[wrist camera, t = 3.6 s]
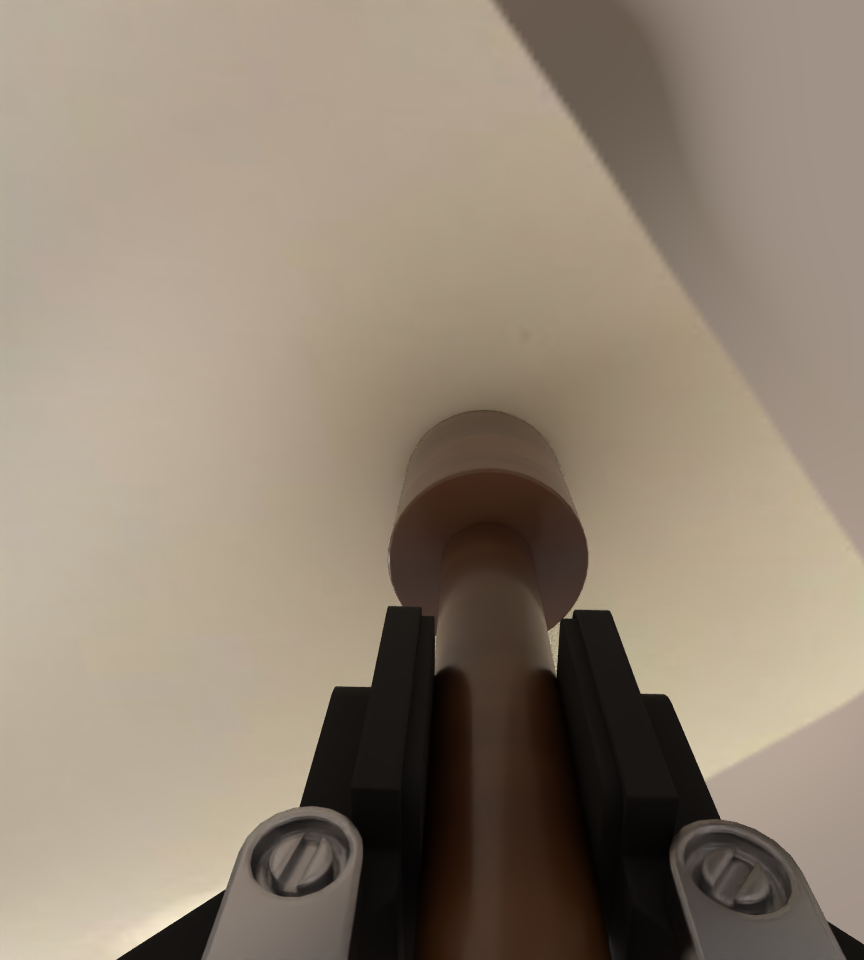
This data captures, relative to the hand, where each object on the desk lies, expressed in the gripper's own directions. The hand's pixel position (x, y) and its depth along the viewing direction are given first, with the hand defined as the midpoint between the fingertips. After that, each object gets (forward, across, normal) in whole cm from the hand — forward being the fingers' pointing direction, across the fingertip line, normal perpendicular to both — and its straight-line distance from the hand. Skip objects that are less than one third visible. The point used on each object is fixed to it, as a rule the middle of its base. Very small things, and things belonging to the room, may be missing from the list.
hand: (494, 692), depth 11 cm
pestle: (+10, 0, 0) cm, 10 cm away
